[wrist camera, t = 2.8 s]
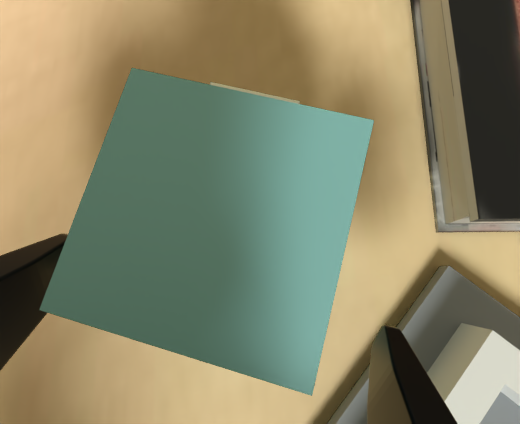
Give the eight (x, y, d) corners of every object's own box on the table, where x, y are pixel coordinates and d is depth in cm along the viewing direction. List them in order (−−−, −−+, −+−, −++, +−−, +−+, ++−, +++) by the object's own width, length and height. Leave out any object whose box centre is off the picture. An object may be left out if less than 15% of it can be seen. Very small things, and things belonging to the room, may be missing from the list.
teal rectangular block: (290, 315, 18) (312, 395, 5) (203, 290, 19) (39, 310, 6) (313, 221, 19) (377, 104, 6) (229, 200, 20) (137, 53, 7)
